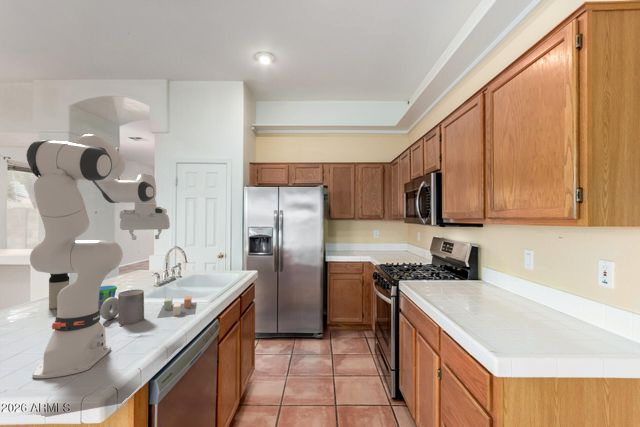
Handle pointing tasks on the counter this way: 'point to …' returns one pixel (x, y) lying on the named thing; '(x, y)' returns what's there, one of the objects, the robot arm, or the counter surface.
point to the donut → (106, 306)
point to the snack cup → (106, 294)
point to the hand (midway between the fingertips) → (145, 239)
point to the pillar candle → (130, 307)
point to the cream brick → (177, 309)
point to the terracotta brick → (187, 302)
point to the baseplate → (184, 311)
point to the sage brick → (168, 303)
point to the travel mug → (56, 287)
